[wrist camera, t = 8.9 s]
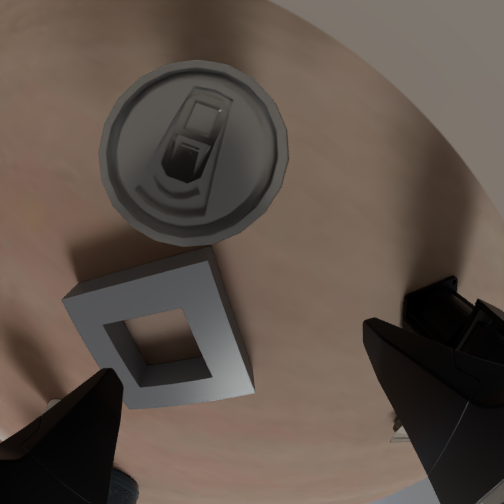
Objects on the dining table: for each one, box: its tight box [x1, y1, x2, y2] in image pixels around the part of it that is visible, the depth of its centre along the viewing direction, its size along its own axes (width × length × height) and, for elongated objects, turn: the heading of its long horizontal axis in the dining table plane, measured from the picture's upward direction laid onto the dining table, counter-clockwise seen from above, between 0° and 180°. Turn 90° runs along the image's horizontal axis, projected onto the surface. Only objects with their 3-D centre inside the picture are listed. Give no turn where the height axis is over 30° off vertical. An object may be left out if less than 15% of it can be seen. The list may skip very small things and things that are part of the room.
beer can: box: [99, 59, 289, 247], centre depth 12 cm, size 5×5×12 cm
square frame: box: [62, 246, 255, 409], centre depth 21 cm, size 12×12×3 cm
